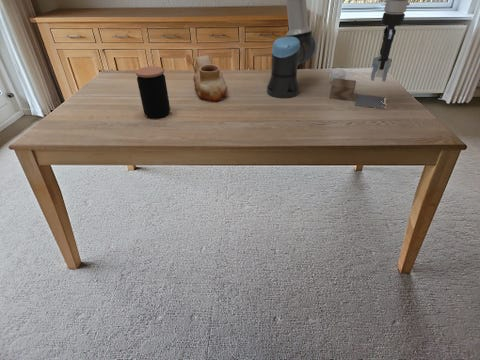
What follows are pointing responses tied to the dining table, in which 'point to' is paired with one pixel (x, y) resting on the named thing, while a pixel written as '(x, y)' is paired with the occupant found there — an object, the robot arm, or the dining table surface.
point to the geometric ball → (337, 74)
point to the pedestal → (342, 89)
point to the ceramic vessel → (208, 80)
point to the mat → (369, 101)
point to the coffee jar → (153, 92)
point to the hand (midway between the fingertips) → (379, 74)
